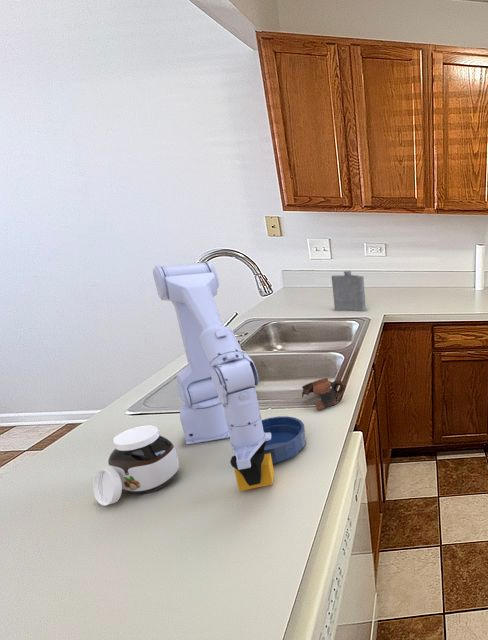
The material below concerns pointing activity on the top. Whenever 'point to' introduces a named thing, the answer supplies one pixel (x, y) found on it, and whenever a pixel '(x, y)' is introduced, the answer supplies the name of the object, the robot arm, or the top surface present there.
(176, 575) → the top surface
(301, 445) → the bowl
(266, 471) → the sponge
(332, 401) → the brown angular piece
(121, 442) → the spread jar
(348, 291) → the hip flask
